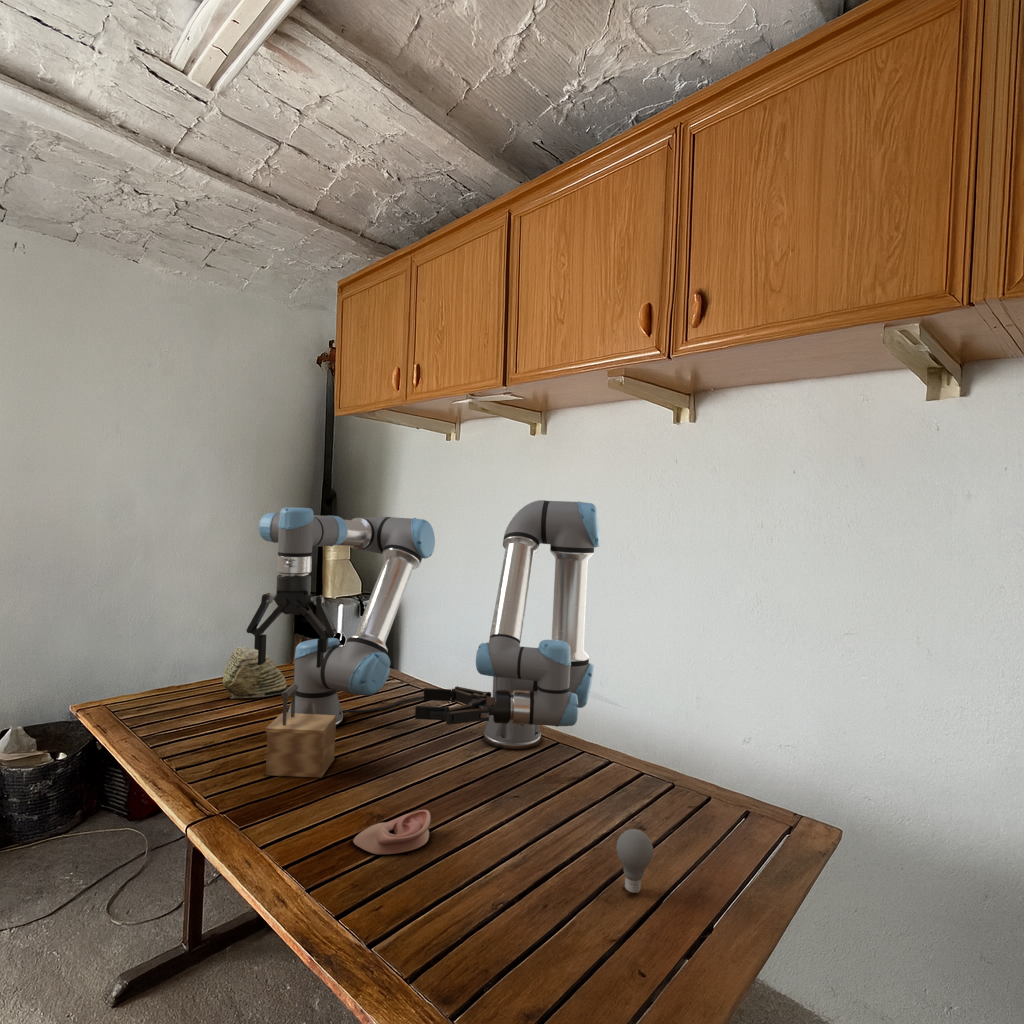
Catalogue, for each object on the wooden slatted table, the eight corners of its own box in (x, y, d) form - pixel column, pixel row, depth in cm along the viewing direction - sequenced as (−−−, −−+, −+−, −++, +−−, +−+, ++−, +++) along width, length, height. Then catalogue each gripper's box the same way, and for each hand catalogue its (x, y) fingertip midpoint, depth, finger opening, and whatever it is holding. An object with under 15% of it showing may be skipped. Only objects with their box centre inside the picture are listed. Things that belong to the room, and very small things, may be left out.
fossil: (218, 695, 195) (220, 647, 195) (278, 685, 208) (279, 640, 207) (228, 703, 189) (230, 653, 188) (289, 692, 201) (290, 645, 201)
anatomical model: (346, 827, 114) (372, 798, 125) (345, 849, 114) (372, 818, 125) (416, 839, 111) (436, 808, 122) (415, 861, 111) (436, 828, 123)
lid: (265, 732, 143) (266, 693, 142) (281, 716, 153) (283, 680, 153) (323, 734, 143) (324, 696, 142) (335, 718, 153) (337, 683, 153)
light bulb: (610, 879, 108) (613, 822, 108) (644, 879, 109) (647, 822, 109) (619, 902, 102) (622, 840, 102) (655, 901, 103) (658, 840, 103)
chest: (265, 775, 143) (267, 732, 143) (282, 756, 153) (283, 717, 153) (321, 777, 143) (323, 734, 143) (334, 759, 153) (336, 719, 153)
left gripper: (233, 573, 143) (230, 666, 144) (343, 578, 143) (339, 671, 144) (247, 569, 151) (244, 658, 151) (351, 574, 151) (348, 663, 151)
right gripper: (509, 743, 135) (410, 738, 135) (510, 705, 160) (426, 702, 160) (511, 708, 135) (412, 703, 135) (511, 676, 160) (427, 672, 160)
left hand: (290, 665), depth 147 cm, fingers open, 13 cm apart
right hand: (419, 702), depth 147 cm, fingers open, 13 cm apart
